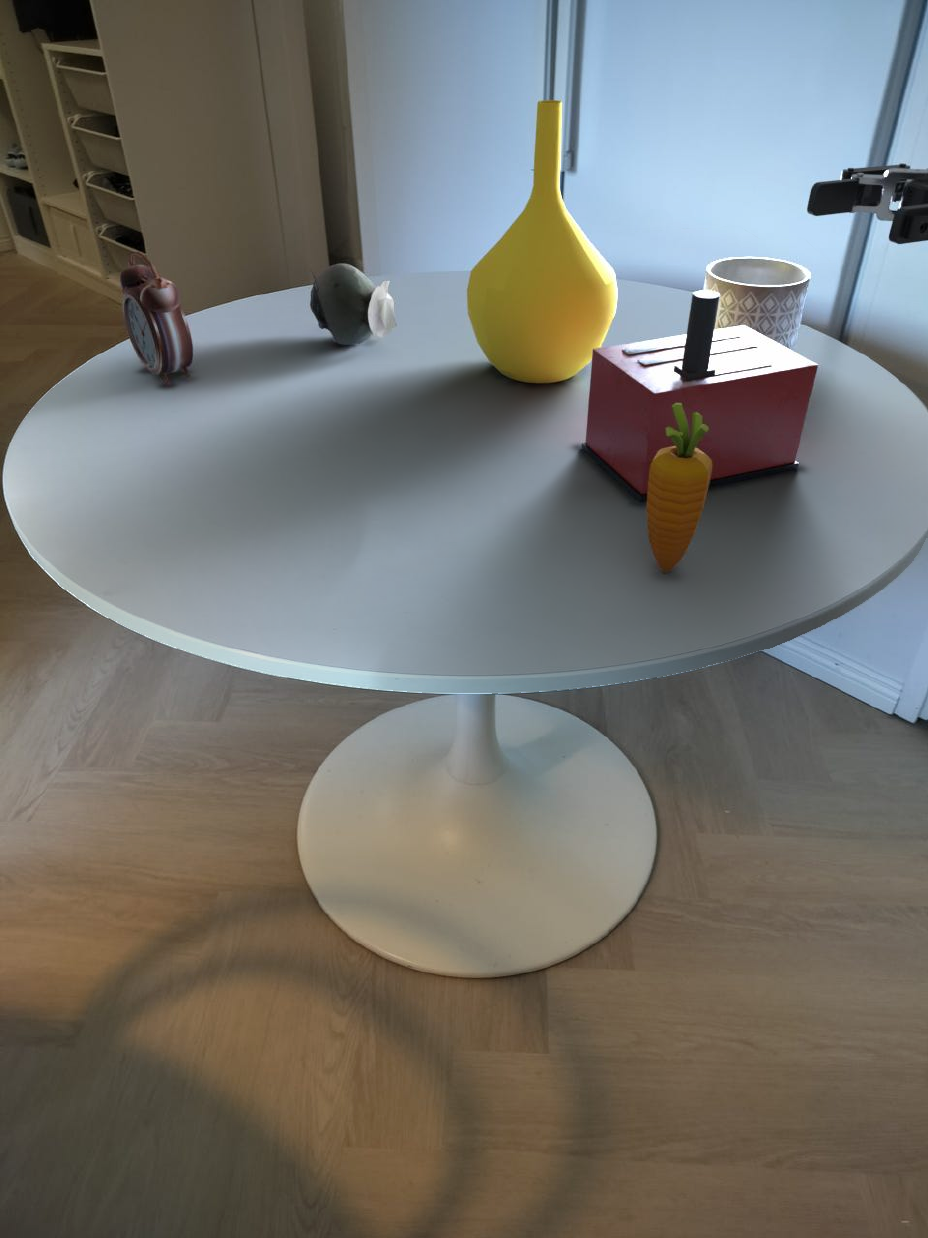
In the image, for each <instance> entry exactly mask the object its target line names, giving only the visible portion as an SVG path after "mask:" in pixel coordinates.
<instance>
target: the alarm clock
mask: <svg viewBox="0 0 928 1238" xmlns="http://www.w3.org/2000/svg"><path fill="white" fill-rule="evenodd" d="M136 257H139V258H140V259H141V260H143V261H144V262H145V263H146V264H147V265H148V266H147V265H144V264H136ZM127 263H128V266H127V267H126V268H124V269H123V270H122V271H121V273H120V275H119V284H120V289H121V291H122V292H123V294H122V305H121V306H122V316H123V320H124V326H125V329H126V332H127V335H128V338H129V341H130V343H131V346H132V348H133V350H134V352H135V354H136V355H137V358H138V359H139V361H140V362H141V364H142V365H143V366H144V369H145V370H146V371H149V373H150V374H152V375H154V376H157V375H161V377H162V378H163V380H164V382H165V385H166V386H168V387H170V385H171V383H170V381H169V378H168V374H172V373H176V372H179V371H181V370H183V371H184V373H185V374H186V377H187V378H190V377H191V373H189V370H188V368H189V367H190V366H191V365H192V364H193V358H194V347H193V345H194V344H193V339H192V334H191V329H190V326H189V323H188V319H187V317H186V314H185V311H184V309H183V307H182V304H181V303H180V295H179V291H178V289H177V286H176V285H175V284H174V282H172V281H171V280H169V279H167V278H165V277H162V276H159V275H158V273H157V271H156V268H155V266H154V264H153V262H152V261H151V260H150V259H149V258H148V257H147V256H146V255H145V254H144V253H141V252H140V251H133V252H131V255H130V259H128V261H127Z"/></svg>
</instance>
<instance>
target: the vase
mask: <svg viewBox="0 0 928 1238" xmlns="http://www.w3.org/2000/svg"><path fill="white" fill-rule="evenodd" d="M562 110H563V102H562V101H561V100H557V99H556V100H554V99H544V100H538V101H537V105H536V121H535V122H536V124H535V126H536V127H535V138H534V139H535V140H534V155H533V156H534V157H533V179H532V180H533V183H532V185H533V186H532V189H531V191H530V192H531V193H530V195H529V198H528V201H527V202H526V204H525V207H524V209H523V210H522V212H521V213H520V214H519V215H518V216H517V218H516V219H515V220H514V221H513V223H512V224H511V225H510V226H509V228H508V229H507V230H506V231H505V232H504V233H503V234H502V236H501V237H500V239H498V241H496V243H495V244H494V245H493V246H492V247H491V248H490V249H489V250H488V252H486V254H484V256H483V257H482V258H481V259H480V260H479V261H478V262H477V263H476V264H475V265H474V267H473V268H472V269H471V270H470V274H469V278H468V283H467V288H466V305H467V306H466V307H467V308H466V309H467V316H468V318H469V322H470V324H471V327H472V331H473V333H474V336H475V340H476V342H477V344H478V346H479V347H480V349H481V350H482V352H483V354H484V355H485V357H486V359H487V360H488V361H489V362H490V363H491V365H492V366H493V367H494V368H495V369H497V370H498V371H499V373H501V374H502V375H504V376H505V377H507V378H509V379H511V380H514V381H517V382H523V383H530V384H551V383H559V382H562V381H566V380H569V379H571V378H573V377H574V376H575V375H577V374H578V373H579V372H580V371H582V370H583V369H584V368H585V367H586V366H588V364H590V362H592V354H593V349H597V348H602V346H603V344H604V341H605V339H606V337H607V334H608V332H609V331H610V327H611V325H612V322H613V320H614V318H615V315H616V312H617V305H618V304H617V303H618V296H619V295H618V294H619V293H618V292H619V291H618V285H617V276H616V273H615V271H614V268H613V267H612V266H611V265H610V264H609V263H608V261H606V259H605V258H604V257H603V256H602V254H601V253H600V252H599V251H598V250H597V249H596V247H595V246H594V245H593V243H591V242H590V240H589V239H588V238H587V235H585V233H584V232H583V231H582V230H581V227H580V226H579V225H578V224H577V222H576V221H575V219H574V218H573V217H572V215H571V214H570V213H569V211H568V210H567V208H566V205H565V202H564V200H563V197H562V193H561V188H560V180H561V179H560V177H561V158H562V157H561V155H562V154H561V153H562V152H561V151H562V114H563V113H562Z"/></svg>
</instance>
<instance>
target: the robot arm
mask: <svg viewBox="0 0 928 1238" xmlns="http://www.w3.org/2000/svg"><path fill="white" fill-rule="evenodd" d="M807 202H808V203H807V206H806V212H807V214H809V215H811V216H814V217H821V216H830V215H838V214H846V213H849V214H854V213H863V214H864V213H867V214H875V217H876V219H878V220H879V221H882V222H883V221H884V222H891V227H890V229H889V233H888V240H889V242H891V243H894V244H897V245H904V244H905V245H906V244H912V243H919V242H926V241H928V168H924V169H923V168H922V169H921V168H911V165H907V163H899V164H889V165H880V166H879V165H878V166H877V165H876V166H866V167H855V168H854V167H847V168H844V169H842V170H841V173H840V179H835V180H827V181H817V182H815V183H813V185H812V186H811V188H810V192H809V198H808V201H807ZM897 202H899V205H898V208H897V209H896V210H895V209H893V210H892V209H891V208H890V207H891V204H893V203H897Z"/></svg>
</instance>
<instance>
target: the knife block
mask: <svg viewBox="0 0 928 1238" xmlns="http://www.w3.org/2000/svg"><path fill="white" fill-rule="evenodd" d="M685 341H686V334H681V335H674V336H673V335H672V336H667V337H662V338H655V339H649V340H643V341H635V342H630V343H623V344H622V343H621V344H616V345H611V346H610V345H609V346H603V347H601V348H597V349H593V354H592V360H591V368H590V381H589V393H588V406H587V420H586V432H585V442H581V447H580V448H581V449H582V450H583V451H584V452H585V453H586V454H587V455H588V456H589V457H590V458H591V459H593V461H595V463H597V464H598V465H599V466H600V467H601V468H602V469H603V470H605V472H607V473H608V474H609V475H610V476H611V477H612V478H613V479H614V480H615V481H616V482H618V483H619V485H621V486H622V487H623V488H624V489H625V490H626V491H627V492H628V493H630V495H632V496H633V497H634V498H635V499H636V500H637V501H638V502H639V503H641V502H647V492H648V481H649V471H650V466H651V463H652V461H653V459H654V457H655V456H656V454H657V452H658V451H659V450H660V449H662V448H666V447H671V446H675V444H674V443H673V441H672V440H671V438H669V437H667V435H666V430H665V429H666V428H667V427H672V428H673V429H674V430H676V431H678V432H679V429H678V425H677V422H676V419H675V416H674V413H673V409H672V405H674V404H675V403H681V404H682V407H683V410H684V412H685V416H686V419H687V423H688V430H689V440H690V436H691V431H692V417H693V413H699V414H700V415H701V416H702V424H705V425H707V426H708V427H709V430H708V431H707V432H706V434H705V435H704V436H703V437H702V438H701V440H700V441H699V443H698V444H697V446H696V448H698V449H699V450H700V451H702V452H703V453H704V454H706V455H707V456H708V457H709V458H710V459H711V460H712V472H711V477H710V482H709V487H708V488H712V487H716V486H721V485H726V484H730V483H735V482H740V481H744V480H749V479H753V478H754V479H755V478H760V477H763V476H767V475H772V474H777V473H782V472H786V471H793V470H795V469H798V468H799V465H800V462H798V461H797V454H798V451H799V446H800V443H801V438H802V435H803V430H804V426H805V421H806V417H807V413H808V409H809V405H810V401H811V396H812V393H813V389H814V383H815V380H816V375H817V372H818V367H819V364H818V363H816V362H814V361H812V360H810V359H809V358H806V357H805V356H803V355H801V354H799V353H797V352H796V351H792V350H790V349H788V348H786V347H784V346H782V345H780V344H778V343H777V342H775V341H773V340H771V339H769V338H767V337H765V336H763V335H762V334H760V333H758V332H756V331H754V330H752V329H750V328H748V327H746V326H745V325H743V326H737V327H730V328H724V329H718V330H714V336H713V342H712V348H711V354H710V360H709V366H710V367H712V368H714V369H715V370H716V371H715V376H709V377H704V378H698V379H692V380H686V379H684V378H683V377H681V376H680V375H678V374H677V373H675V372H674V366H675V365H681V364H682V362H683V355H684V348H685Z"/></svg>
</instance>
